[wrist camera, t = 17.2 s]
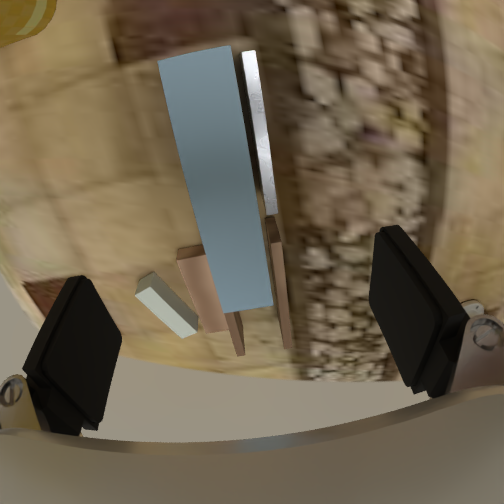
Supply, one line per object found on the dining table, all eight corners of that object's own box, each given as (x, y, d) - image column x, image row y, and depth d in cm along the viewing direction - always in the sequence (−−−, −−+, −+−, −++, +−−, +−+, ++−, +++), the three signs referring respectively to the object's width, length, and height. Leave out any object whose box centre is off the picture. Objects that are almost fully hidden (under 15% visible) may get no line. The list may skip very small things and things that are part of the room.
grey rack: (250, 52, 23) (255, 50, 19) (270, 190, 31) (278, 213, 27) (172, 67, 24) (161, 68, 19) (202, 202, 32) (199, 226, 27)
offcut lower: (209, 241, 35) (208, 254, 33) (232, 315, 41) (233, 329, 39) (178, 247, 35) (176, 260, 33) (206, 319, 42) (206, 333, 40)
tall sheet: (228, 56, 24) (230, 44, 10) (252, 193, 31) (273, 305, 18) (194, 63, 24) (157, 61, 10) (223, 199, 32) (223, 313, 18)
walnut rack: (274, 216, 33) (281, 241, 29) (286, 319, 42) (292, 347, 38) (209, 227, 33) (206, 254, 29) (235, 327, 42) (237, 356, 38)
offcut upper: (150, 286, 34) (134, 295, 34) (197, 332, 38) (182, 338, 39) (154, 270, 36) (139, 279, 37) (198, 315, 41) (183, 322, 41)
